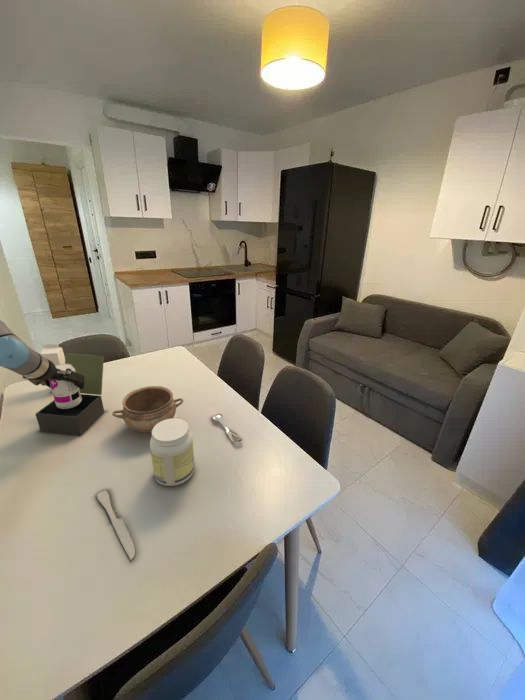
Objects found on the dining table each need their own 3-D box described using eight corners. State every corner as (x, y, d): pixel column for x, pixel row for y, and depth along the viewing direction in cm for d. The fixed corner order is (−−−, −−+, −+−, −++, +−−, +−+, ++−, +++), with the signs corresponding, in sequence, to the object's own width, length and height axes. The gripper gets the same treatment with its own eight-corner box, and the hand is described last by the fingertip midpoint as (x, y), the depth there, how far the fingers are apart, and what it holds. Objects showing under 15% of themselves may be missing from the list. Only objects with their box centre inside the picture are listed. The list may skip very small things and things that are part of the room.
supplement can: (60, 412, 103) (50, 375, 97) (53, 403, 108) (43, 367, 102) (85, 403, 109) (77, 368, 103) (78, 395, 114) (69, 360, 108)
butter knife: (106, 488, 84) (95, 494, 82) (139, 553, 68) (126, 562, 66) (107, 489, 84) (96, 495, 82) (139, 554, 68) (126, 563, 66)
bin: (81, 435, 104) (76, 417, 101) (40, 431, 105) (35, 413, 102) (104, 411, 118) (101, 395, 115) (68, 408, 119) (64, 392, 116)
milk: (57, 385, 134) (45, 341, 125) (72, 384, 136) (60, 340, 127) (51, 392, 129) (38, 347, 120) (67, 391, 130) (55, 346, 121)
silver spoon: (245, 434, 103) (234, 439, 100) (246, 442, 104) (234, 447, 102) (219, 409, 118) (208, 413, 116) (219, 416, 119) (209, 420, 117)
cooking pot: (116, 450, 99) (110, 420, 94) (115, 418, 114) (110, 391, 109) (189, 432, 109) (187, 404, 104) (180, 405, 124) (178, 380, 119)
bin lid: (102, 356, 114) (103, 356, 114) (65, 353, 115) (66, 353, 115) (100, 395, 114) (101, 394, 115) (63, 391, 115) (64, 391, 116)
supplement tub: (195, 456, 98) (192, 414, 91) (193, 485, 87) (190, 441, 80) (157, 459, 96) (152, 417, 89) (151, 490, 85) (144, 445, 78)
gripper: (-7, 380, 85) (37, 397, 106) (72, 377, 89) (99, 394, 110) (-1, 357, 88) (41, 377, 109) (75, 354, 91) (101, 375, 112)
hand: (70, 386), depth 109 cm, fingers closed on supplement can, 8 cm apart
